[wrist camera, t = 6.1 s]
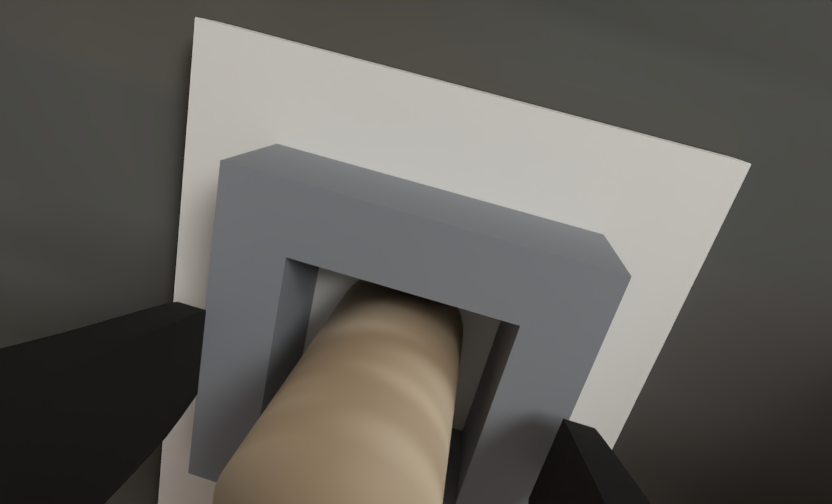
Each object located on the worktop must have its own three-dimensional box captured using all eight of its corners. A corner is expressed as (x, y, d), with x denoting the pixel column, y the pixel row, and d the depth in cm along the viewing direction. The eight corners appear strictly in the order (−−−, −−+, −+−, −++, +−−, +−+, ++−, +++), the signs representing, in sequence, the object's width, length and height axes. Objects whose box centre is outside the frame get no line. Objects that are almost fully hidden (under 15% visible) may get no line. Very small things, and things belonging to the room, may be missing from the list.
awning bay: (729, 156, 11) (1067, 271, 4) (509, 625, 17) (516, 979, 10) (219, 21, 12) (-130, -49, 5) (173, 513, 17) (-22, 775, 11)
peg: (478, 289, 12) (464, 477, 6) (445, 398, 13) (407, 641, 7) (349, 253, 12) (223, 405, 6) (327, 364, 13) (204, 575, 8)
